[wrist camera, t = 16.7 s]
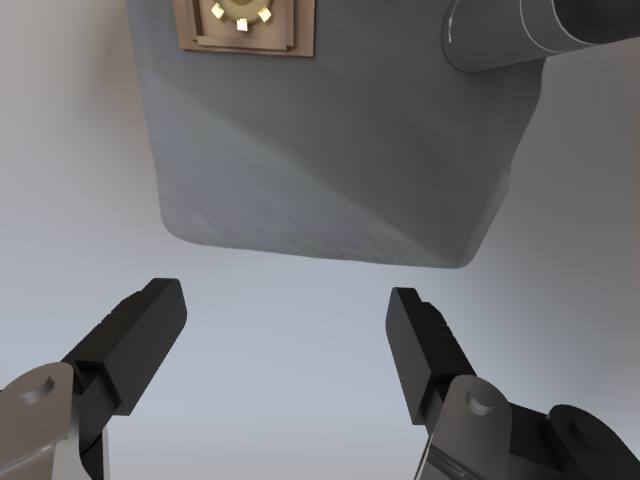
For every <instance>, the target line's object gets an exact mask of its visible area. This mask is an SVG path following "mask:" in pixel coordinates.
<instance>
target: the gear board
mask: <svg viewBox="0 0 640 480" xmlns="http://www.w3.org/2000/svg"><path fill="white" fill-rule="evenodd" d="M172 2H173V9H174V15H175V22H176V28H177V34H178V41H179V47H180V49H182V50H187V51H204V52H221V53H238V54H255V55H272V56H290V57H307V58H313V45H314V12H315V0H273V2H272V6H271V9H270V11H269V12H270V13H271V15H272V17H273V20H272V21H271V22H270V23H269V24H268V26H267V25H266V23H265V22H264V21H263V20H262V21H261V22H259V23H257V24H255V25H252V26H250V34H246V33H241V32H240V31H239V30H238V24H236V23H234V22H232V21H231V20H230V19H228V18H227V19H226V20H225V22H224V23H223V22H221V21H220V20H219V19H218V18H217V16H216V15H215V14H214V13H213V12H212V11H211V10H212V9H213V7H214V6H215V5H216V4H215V3H214V1H213V0H172Z"/></svg>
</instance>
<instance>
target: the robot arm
mask: <svg viewBox="0 0 640 480" xmlns="http://www.w3.org/2000/svg"><path fill="white" fill-rule="evenodd" d="M634 37H640V0H454V1H453V2H452V4H451V5H450V7H449V9H448V12H447V14H446V17H445V20H444V23H443V30H442V45H443V49H444V53H445V55H446V57H447V59H448V60H449V62H450V63H451V64H452V65H453V66H454V67H456V68H457V69H459V70H461V71H464V72H478V71H483V70H488V69H492V68H498V67H502V66H507V65H512V64H516V63H521V62H525V61H530V60H535V59H539V58H544V57H549V56H553V55H558V54H562V53H567V52H571V51H575V50H579V49H584V48H589V47H594V46H598V45H603V44H607V43H612V42H616V41H621V40H625V39H629V38H634ZM186 319H187V310H186V305H185V301H184V297H183V292H182V288H181V284H180V282H179V280H178V279H172V278H170V279H169V278H154V279H152V280H151V281H150V282H149V283H148V285H146V286H145V288H144V289H142V290H141V291H137V292H136V293H134V294H132V295H131V296H129V297H127V298H126V299H124V300H122V301H121V302H120V303H119V304H118V305H117V306H116V307H115V308H114V309H113V310H112V311H111V314H108V315H107V316H106V317H105V318H104V319H103V320H102V321H101V324H98V325H97V326H96V327H95V328H94V329H93V330H92V331H91V332H90V333H89V334H88V335H87V336H86V337H85V338H84V339H83V340H82V341H80V342H79V343H78V344H77V345H76V347H74V348H73V350H71V351H70V352H69V353H68V354H67V355H66V356H65V357H64V358H63V359H62V360H61V361H60V362H55V363H49V364H45V365H43V366H39V367H37V368H35V369H32V370H30V371H28V372H26V373H25V374H23V375H21V376H19V377H18V378H17V379H15V380H14V381H12V382H11V383H10V384H9V385H7V386H6V387H5V388H4V389H3V390H0V480H110V470H109V450H108V449H109V448H108V431H107V428H106V424H107V422H108V421H109V420H110V418H111V417H112V415H121V416H124V415H125V416H129V415H130V414H131V412H132V410H133V409H134V407H135V405H136V404H137V402H138V401H139V399H140V397H141V396H142V394H143V393H144V391H145V389H146V388H147V386H148V384H149V383H150V381H151V379H152V378H153V376H154V375H155V373H156V371H157V370H158V368H159V367H160V365H161V363H162V362H163V360H164V359H165V357H166V355H167V354H168V352H169V350H170V349H171V347H172V346H173V344H174V342H175V341H176V339H177V337H178V336H179V334H180V333H181V331H182V329H183V328H184V326H185V323H186ZM386 333H387V337H388V341H389V344H390V348H391V351H392V355H393V358H394V361H395V365H396V368H397V372H398V375H399V379H400V382H401V386H402V389H403V393H404V396H405V399H406V403H407V407H408V410H409V413H410V417H411V420H412V424H413V425H425V426H426V429H427V432H428V435H429V437H428V440H427V442H426V445H425V448H424V451H423V453H422V456H421V459H420V462H419V465H418V468H417V471H416V473H415V476H414V479H413V480H640V461H639V460H638V459H637V458H636V457H635V455H634V454H633V453H632V452H631V451H630V450H629V449H628V447H627V446H626V445H625V444H624V442H623V441H622V440H621V439H620V438H619V437H618V436H617V435H616V434H615V432H614V431H612V430H611V429H610V428H609V427H608V426H607V425H606V424H604V423H603V422H602V421H600V420H599V419H598V418H596V417H595V416H593V415H591V414H590V413H588V412H586V411H584V410H582V409H580V408H577V407H574V406H570V405H563V404H561V405H556V406H554V407H553V408H552V409H551V410H550V412H549V413H548V414H547V415H546V414H543V413H540V412H537V411H534V410H531V409H528V408H525V407H521V406H519V405H515V404H513V403H510V402H508V401H507V399H506V398H505V397H504V395H503V394H502V393H501V392H500V391H499V390H498V389H497V388H496V387H495V386H493V385H492V384H490V383H489V382H487V381H485V380H484V379H481V378H479V377H477V375H476V373H475V371H474V370H473V368H472V366H471V365H470V363H469V361H468V359H467V358H466V356H465V354H464V352H463V351H462V349H461V347H460V346H459V344H458V342H457V341H456V339H455V337H454V336H453V334H452V332H451V330H450V328H449V327H448V326H447V323H446V321H445V320H444V318H443V316H442V314H441V313H440V312H439V311H438V310H437V309H436V308H435V307H434V306H432V305H431V304H430V303H429V302H422V301H421V299H420V297H419V295H418V293H417V291H416V290H415V289H414V288H401V287H400V288H399V287H394V288H393V289H392V292H391V296H390V301H389V306H388V311H387V316H386Z"/></svg>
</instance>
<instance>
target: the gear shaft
mask: <svg viewBox="0 0 640 480" xmlns="http://www.w3.org/2000/svg"><path fill="white" fill-rule="evenodd" d="M213 1H214V3H215V4H216V5H215V6H214V7H213V9H212V10H211V11H212V12H213V13H214V14H215V15H216V16H217V18H218V19H219V20H220V21H221V22H223V23H224V22H225V20H226V19H227V18H228V19H230V20H231V21H232V22H234V23H236V24H238V30H239V31H240V32H241V33H246V34H250V26H252V25H255V24H257V23H259V22H261V21H262V20H263V21H264V22H265V23H266V25H267V26H268V24H269V23H270V22H271V21H272V20H273V17H272V15H271V13H270V12H269V11H270V9H271V6H272V2H273V0H213Z"/></svg>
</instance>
